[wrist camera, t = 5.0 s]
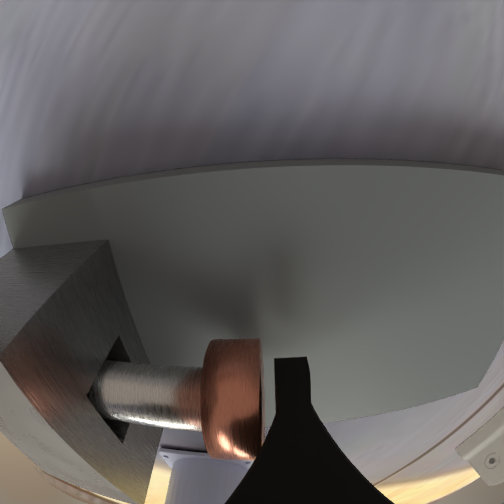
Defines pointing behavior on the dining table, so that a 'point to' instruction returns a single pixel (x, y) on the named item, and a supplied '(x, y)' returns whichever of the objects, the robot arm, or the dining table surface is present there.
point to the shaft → (193, 397)
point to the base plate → (304, 269)
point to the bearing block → (70, 367)
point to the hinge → (486, 450)
